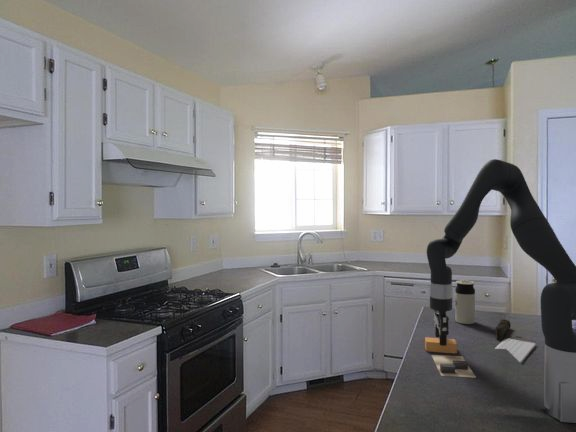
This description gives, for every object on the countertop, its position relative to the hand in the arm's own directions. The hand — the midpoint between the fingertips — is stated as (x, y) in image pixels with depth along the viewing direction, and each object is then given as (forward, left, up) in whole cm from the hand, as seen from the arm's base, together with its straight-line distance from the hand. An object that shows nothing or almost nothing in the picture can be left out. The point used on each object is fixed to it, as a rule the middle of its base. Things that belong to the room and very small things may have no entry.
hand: (440, 341), depth 147 cm
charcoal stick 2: (-16, -3, -3) cm, 17 cm away
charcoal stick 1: (-20, +2, -3) cm, 20 cm away
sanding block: (0, 0, -5) cm, 5 cm away
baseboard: (+3, -23, -5) cm, 24 cm away
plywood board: (-14, -1, -5) cm, 15 cm away
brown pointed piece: (+26, -29, -5) cm, 39 cm away
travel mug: (+41, -18, -5) cm, 45 cm away
